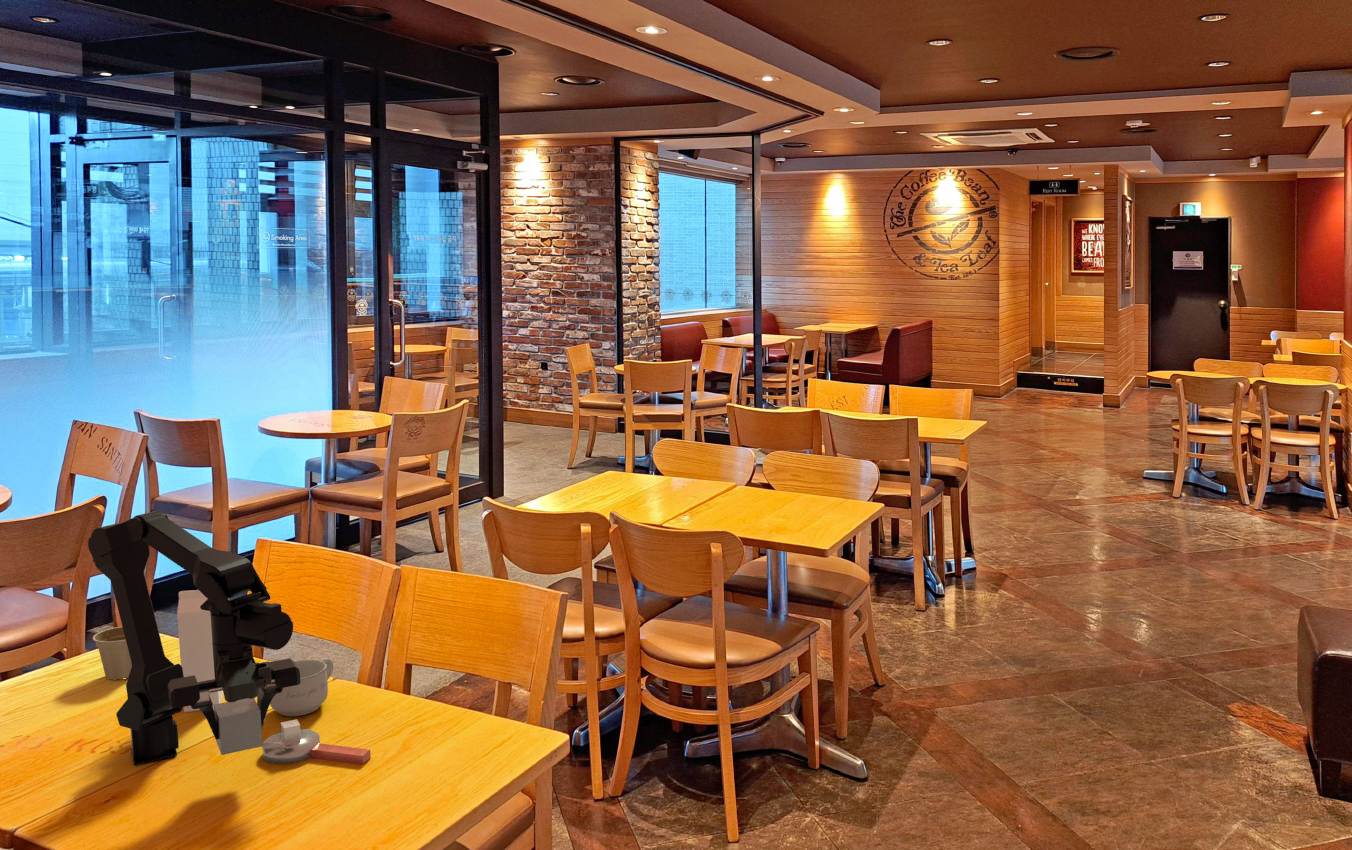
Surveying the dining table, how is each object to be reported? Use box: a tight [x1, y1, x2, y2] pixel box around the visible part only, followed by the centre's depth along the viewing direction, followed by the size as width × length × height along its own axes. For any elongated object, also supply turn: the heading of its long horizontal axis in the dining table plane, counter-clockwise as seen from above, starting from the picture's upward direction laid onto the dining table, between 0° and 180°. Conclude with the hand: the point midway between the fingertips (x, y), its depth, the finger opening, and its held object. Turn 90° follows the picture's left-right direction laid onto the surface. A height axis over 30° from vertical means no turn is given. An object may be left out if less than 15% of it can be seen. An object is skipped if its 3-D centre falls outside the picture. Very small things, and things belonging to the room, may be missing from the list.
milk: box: [176, 589, 224, 713], centre depth 198 cm, size 6×6×22 cm
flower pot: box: [92, 626, 132, 680], centre depth 213 cm, size 9×9×9 cm
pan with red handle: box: [262, 719, 372, 765], centre depth 178 cm, size 18×9×5 cm, turn 76°
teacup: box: [269, 657, 334, 717], centre depth 198 cm, size 14×11×8 cm
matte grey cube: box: [213, 698, 263, 756], centre depth 169 cm, size 6×6×6 cm
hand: (238, 733), depth 169 cm, fingers closed on matte grey cube, 6 cm apart
